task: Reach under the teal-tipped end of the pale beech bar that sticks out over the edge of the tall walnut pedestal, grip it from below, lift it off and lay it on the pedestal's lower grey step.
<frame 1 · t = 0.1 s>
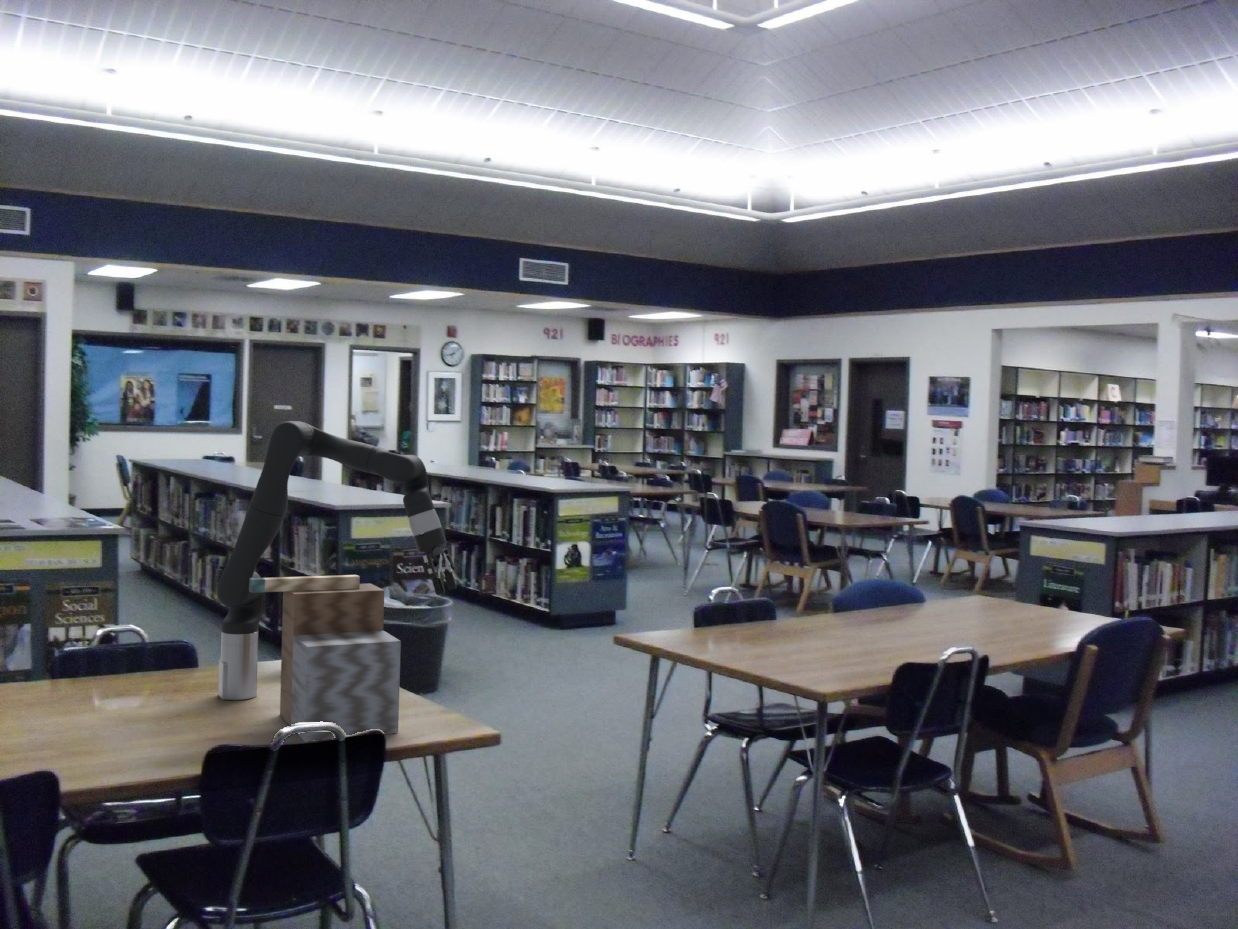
hand: (447, 591, 289), 31 cm above the table, fingers open, 8 cm apart
pedestal: (330, 716, 285), on the table
beech bar: (305, 589, 281), point 32 cm above the table, touching pedestal
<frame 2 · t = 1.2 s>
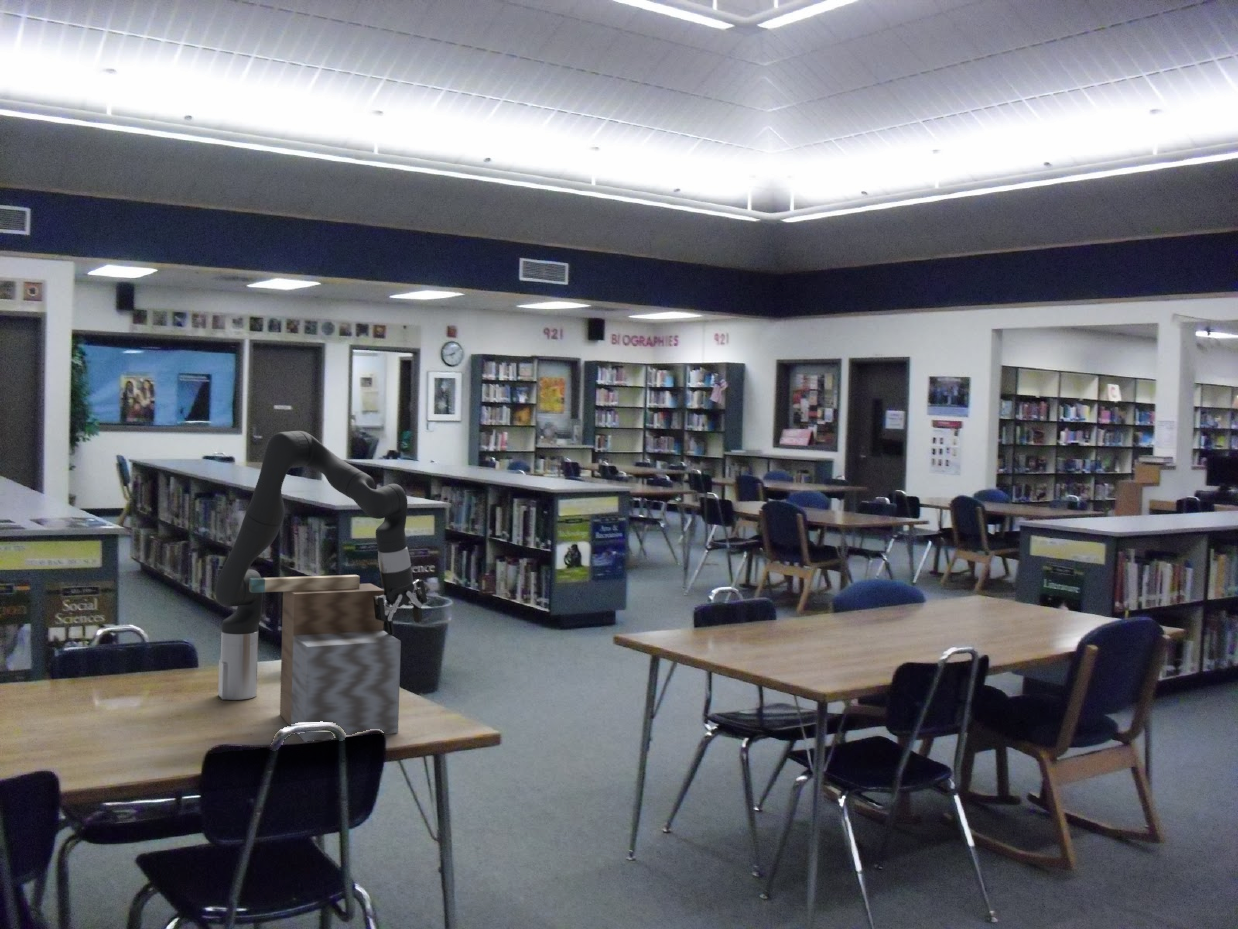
hand: (404, 627, 283), 23 cm above the table, fingers open, 8 cm apart
nothing on the table moved.
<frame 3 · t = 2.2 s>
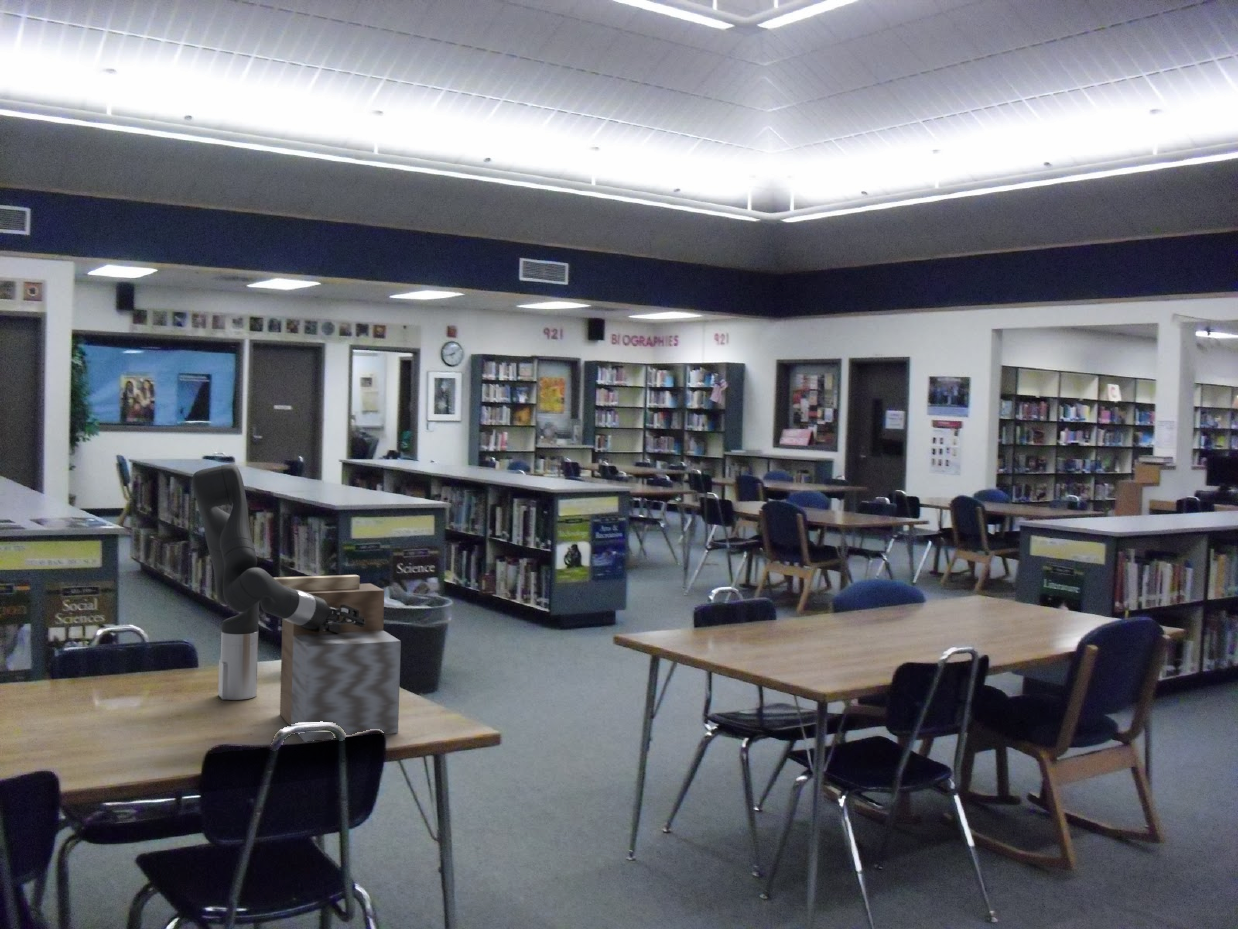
hand: (351, 626, 276), 24 cm above the table, fingers open, 7 cm apart
nothing on the table moved.
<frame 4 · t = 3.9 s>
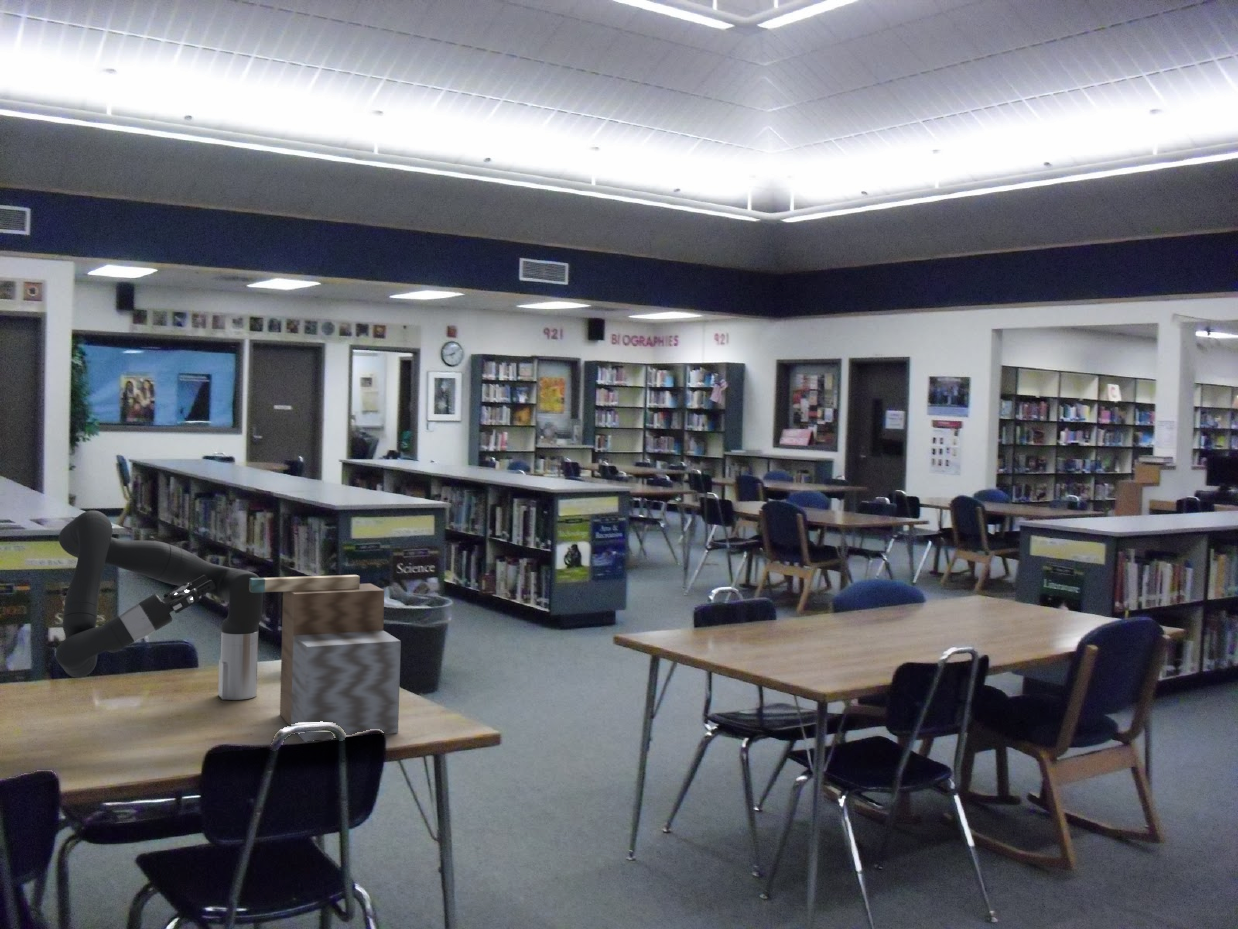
hand: (210, 580, 270), 35 cm above the table, fingers open, 8 cm apart
nothing on the table moved.
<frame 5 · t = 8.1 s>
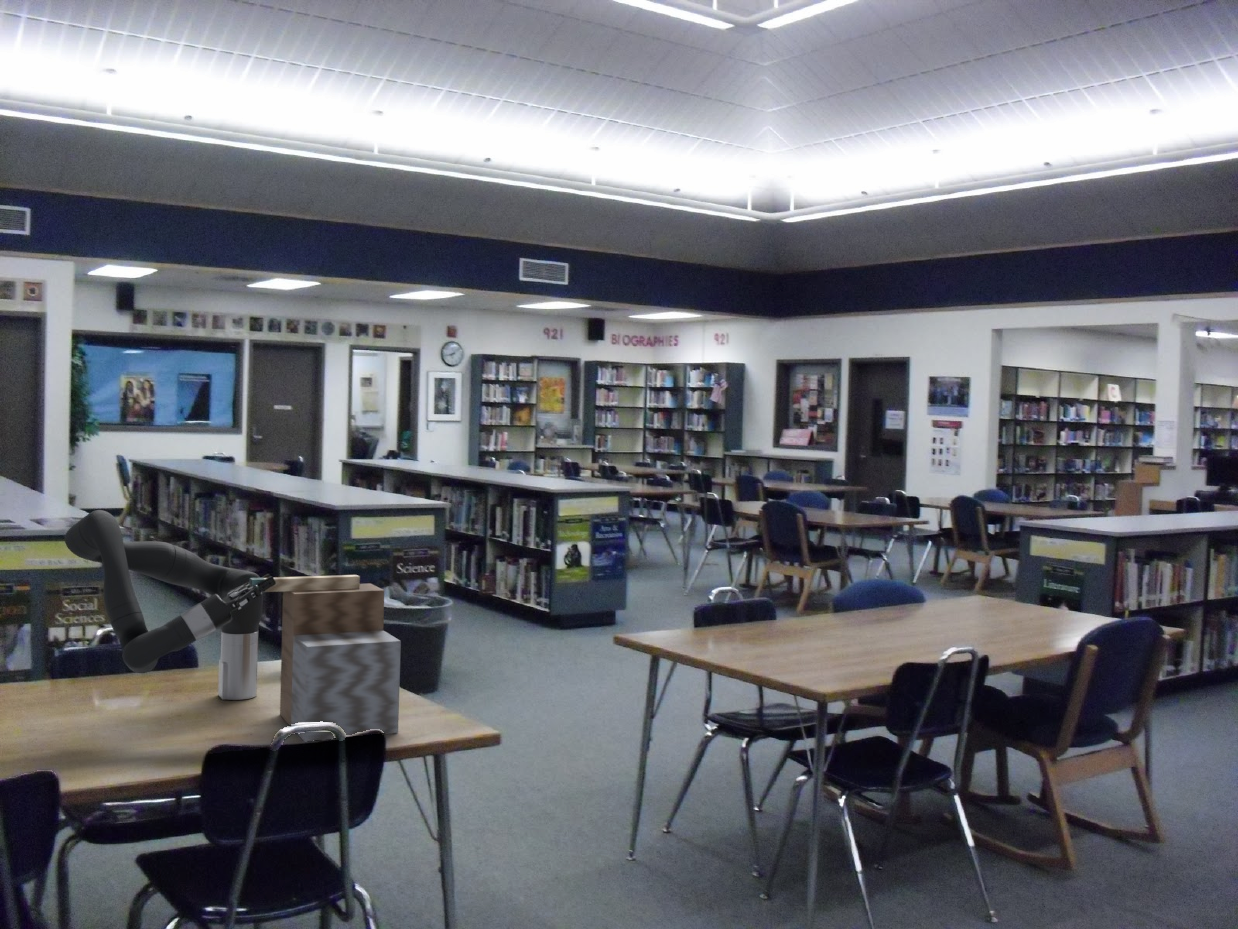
hand: (272, 578, 277), 35 cm above the table, fingers closed on beech bar, 3 cm apart
beech bar: (305, 589, 281), point 32 cm above the table, touching gripper, pedestal
everything else where it was.
when the fingers open (26 cm above the table, at t = 16.2 s): beech bar stays where it is, resting on pedestal.
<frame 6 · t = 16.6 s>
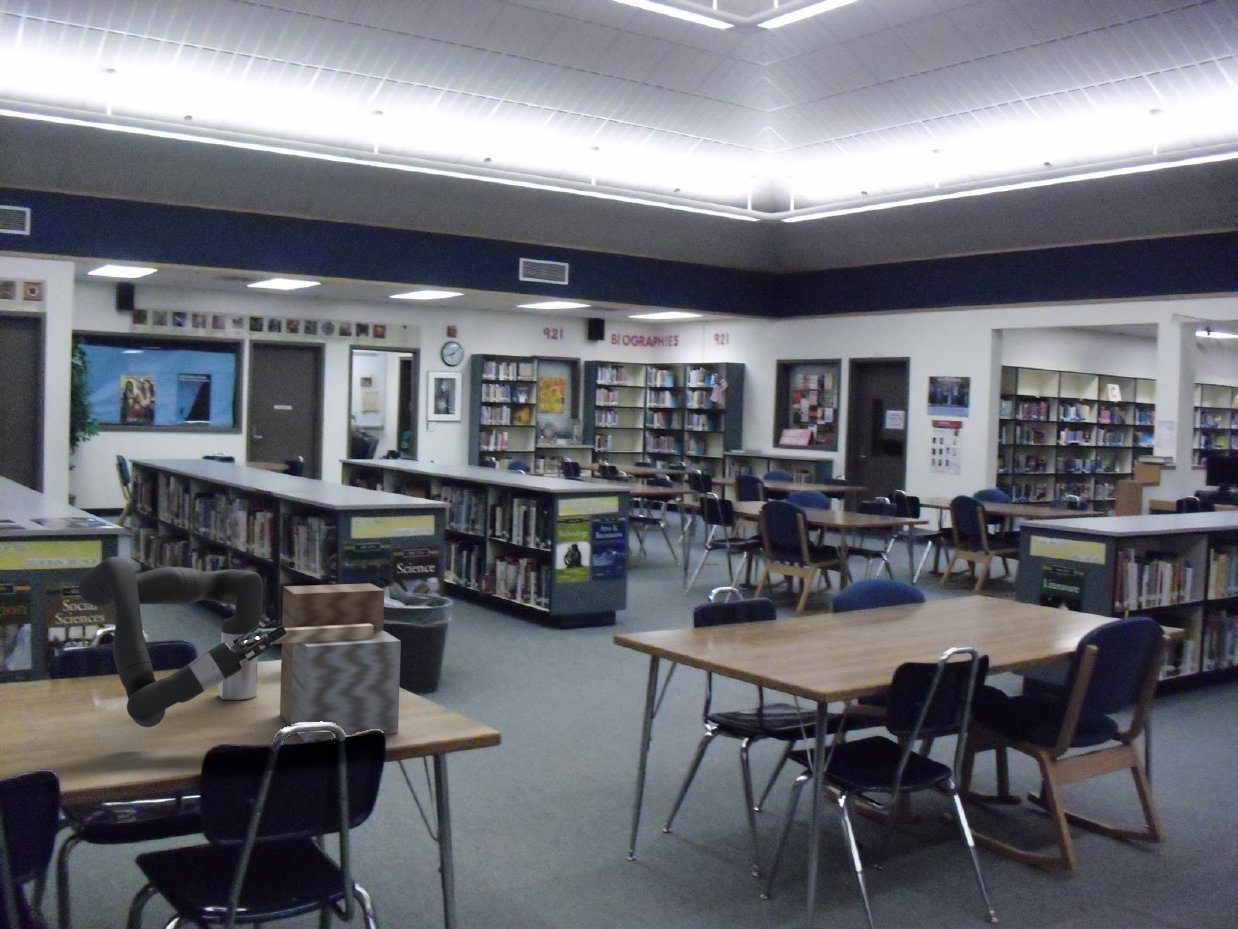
hand: (281, 626, 265), 26 cm above the table, fingers open, 6 cm apart
beech bar: (317, 640, 269), point 22 cm above the table, touching pedestal
everything else where it was.
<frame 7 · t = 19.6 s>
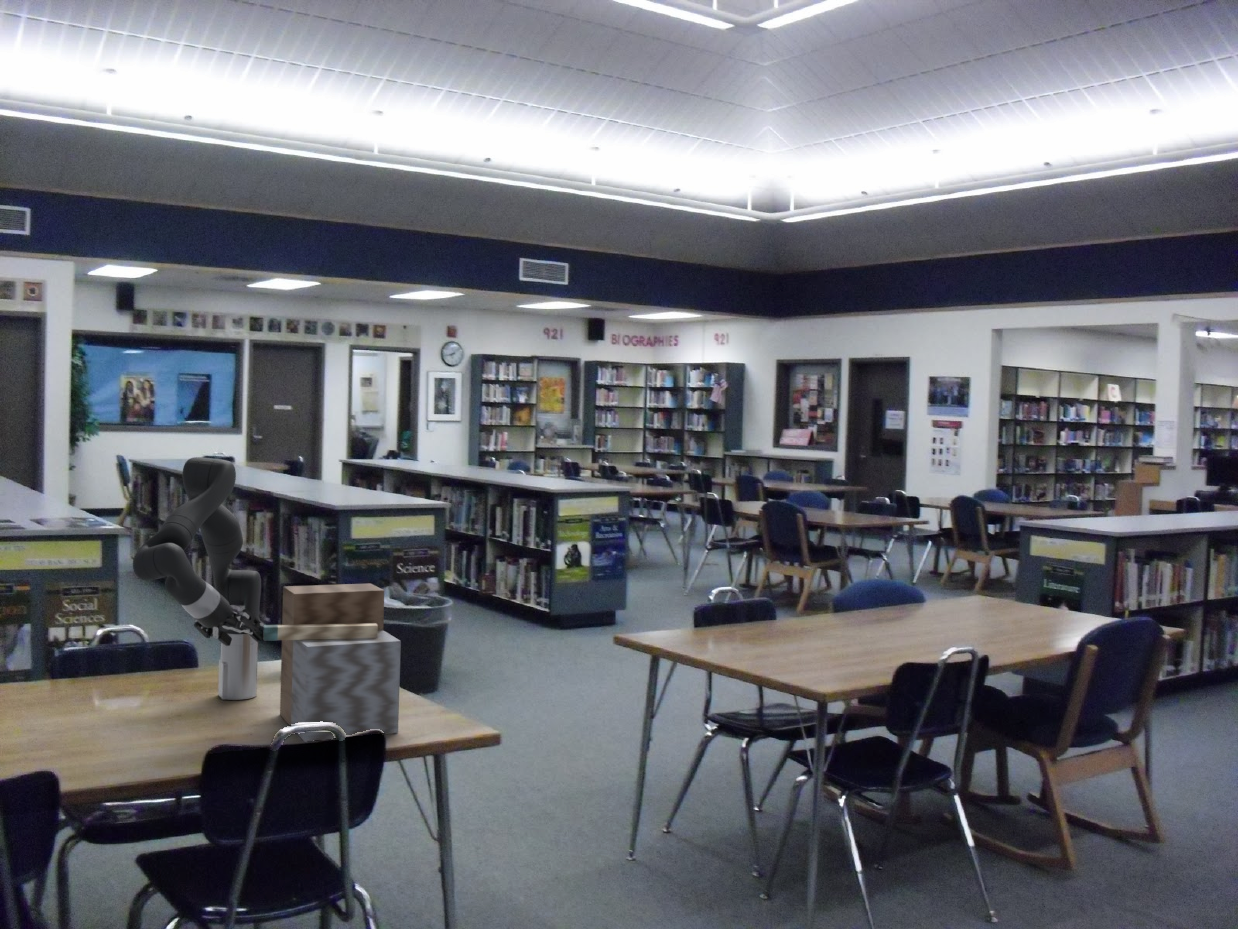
hand: (244, 640, 267), 22 cm above the table, fingers open, 8 cm apart
beech bar: (320, 638, 272), point 22 cm above the table
everything else where it was.
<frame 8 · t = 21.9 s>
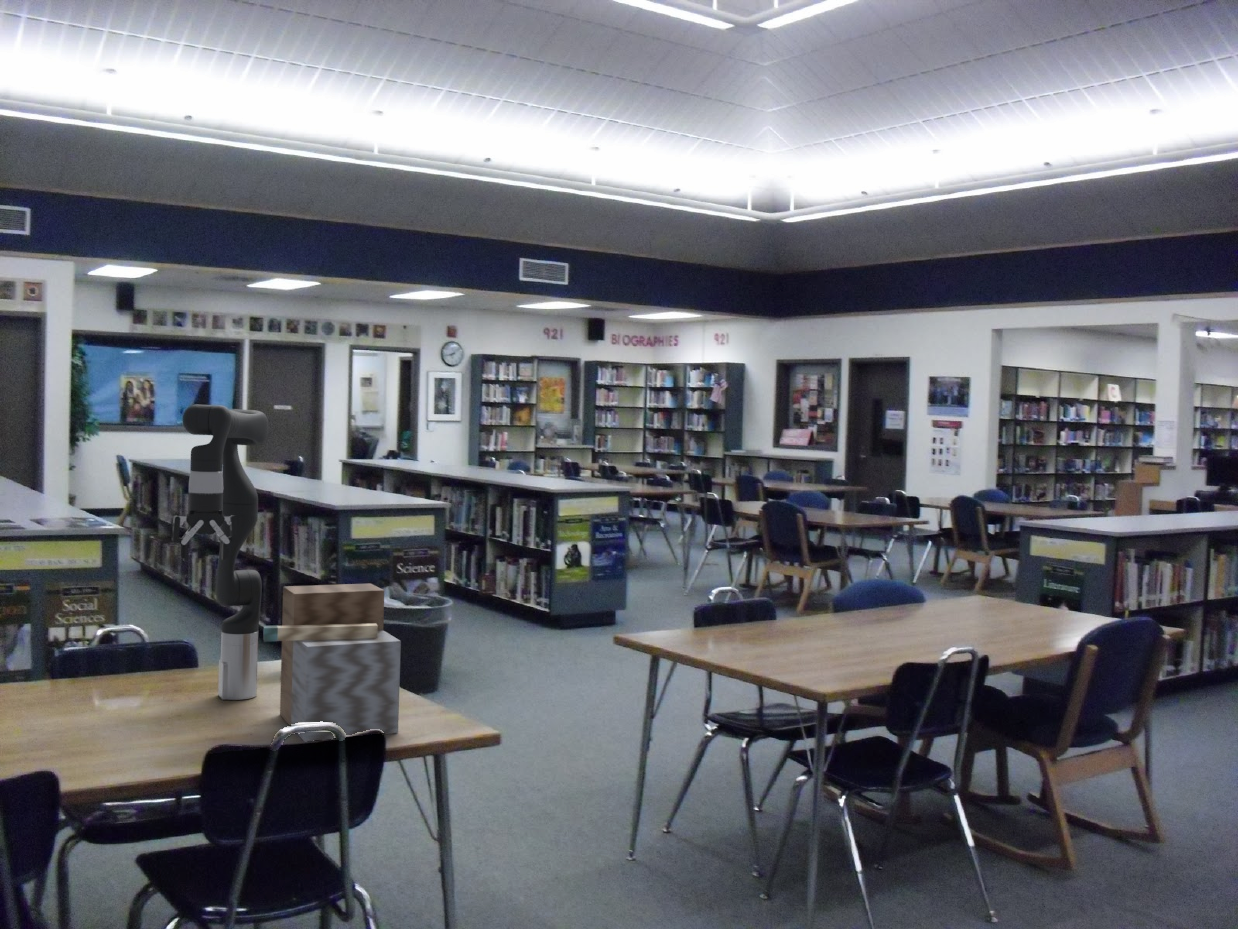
hand: (204, 560, 267), 40 cm above the table, fingers open, 8 cm apart
beech bar: (320, 638, 272), point 22 cm above the table, touching pedestal
everything else where it was.
at the end: beech bar inside the target area on the pedestal (2.1 cm from its centre), point 22.0 cm above the pedestal's base; the gripper is holding nothing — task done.
